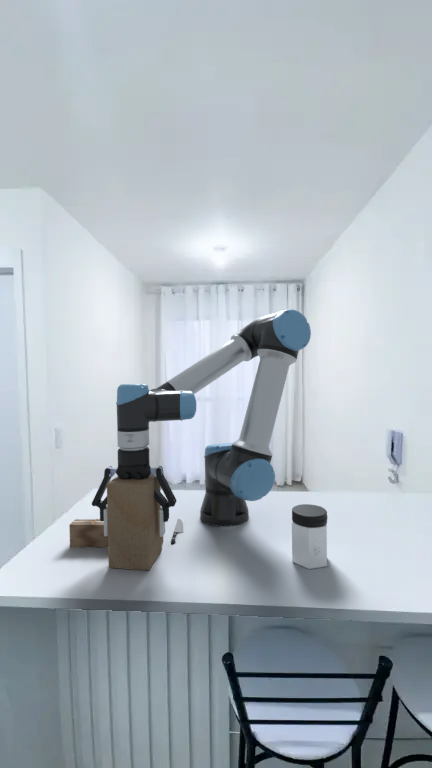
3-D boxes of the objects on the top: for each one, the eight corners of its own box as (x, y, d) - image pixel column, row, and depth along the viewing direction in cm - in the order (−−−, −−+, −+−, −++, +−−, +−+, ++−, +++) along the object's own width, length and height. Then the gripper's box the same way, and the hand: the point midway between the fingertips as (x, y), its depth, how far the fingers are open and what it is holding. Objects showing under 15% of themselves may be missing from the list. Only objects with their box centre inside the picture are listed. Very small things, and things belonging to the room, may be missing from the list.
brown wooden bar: (163, 541, 97) (162, 519, 97) (160, 547, 93) (160, 524, 93) (75, 541, 98) (75, 518, 98) (70, 547, 95) (69, 524, 94)
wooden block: (149, 571, 82) (147, 484, 82) (107, 568, 84) (105, 483, 83) (162, 550, 92) (160, 472, 92) (125, 548, 94) (123, 471, 93)
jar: (300, 571, 81) (299, 518, 81) (285, 554, 89) (284, 505, 89) (336, 566, 83) (335, 514, 83) (318, 549, 91) (317, 502, 91)
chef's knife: (187, 518, 114) (178, 517, 114) (188, 514, 114) (178, 514, 114) (181, 546, 95) (170, 545, 95) (181, 542, 95) (170, 541, 95)
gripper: (76, 450, 84) (78, 540, 85) (182, 450, 83) (183, 541, 84) (89, 444, 92) (90, 527, 92) (186, 444, 91) (187, 528, 91)
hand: (135, 534), depth 88 cm, fingers open, 13 cm apart
